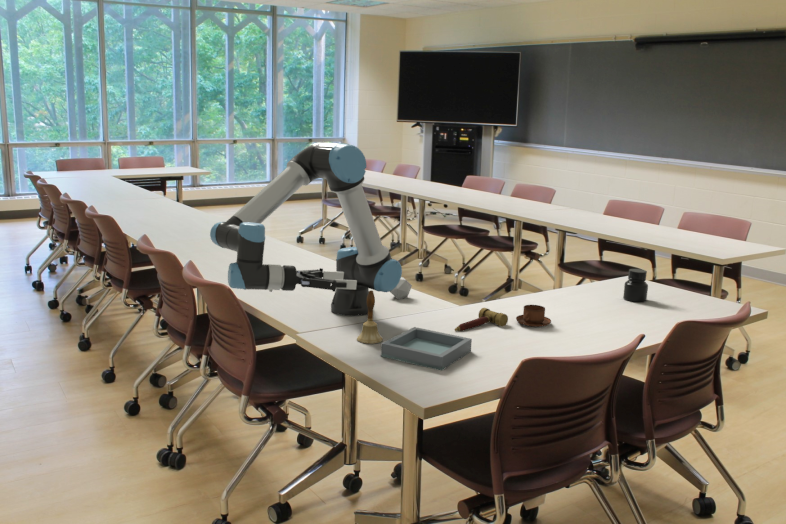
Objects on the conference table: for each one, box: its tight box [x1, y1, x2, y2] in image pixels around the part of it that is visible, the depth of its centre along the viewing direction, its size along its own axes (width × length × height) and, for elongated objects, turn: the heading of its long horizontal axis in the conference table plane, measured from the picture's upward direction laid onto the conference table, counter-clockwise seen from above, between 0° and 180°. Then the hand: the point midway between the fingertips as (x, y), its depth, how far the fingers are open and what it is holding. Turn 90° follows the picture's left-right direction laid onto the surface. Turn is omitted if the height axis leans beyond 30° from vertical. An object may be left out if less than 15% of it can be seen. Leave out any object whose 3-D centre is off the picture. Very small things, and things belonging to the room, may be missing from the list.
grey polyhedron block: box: [388, 276, 413, 300], centre depth 274 cm, size 8×9×10 cm
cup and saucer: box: [515, 304, 552, 328], centre depth 246 cm, size 12×12×6 cm
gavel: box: [454, 307, 509, 332], centre depth 242 cm, size 21×5×10 cm
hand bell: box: [356, 290, 384, 345], centre depth 222 cm, size 8×8×16 cm
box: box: [380, 326, 472, 372], centre depth 213 cm, size 20×20×4 cm
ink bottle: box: [622, 268, 649, 303], centre depth 282 cm, size 10×9×12 cm
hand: (349, 280), depth 218 cm, fingers open, 13 cm apart
